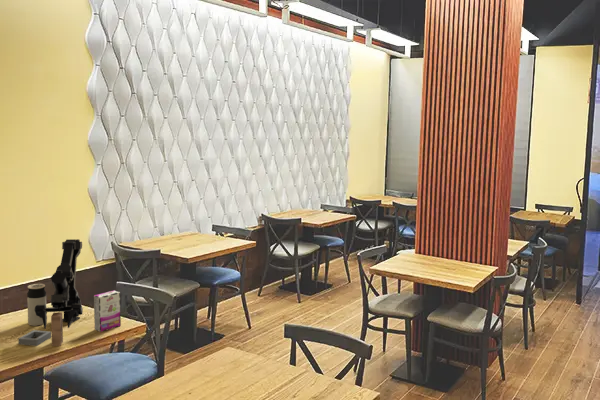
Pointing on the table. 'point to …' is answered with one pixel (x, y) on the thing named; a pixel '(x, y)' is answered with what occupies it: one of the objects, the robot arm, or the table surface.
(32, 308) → the travel mug
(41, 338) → the slotted holder
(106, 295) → the candy bar box
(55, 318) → the walnut post
